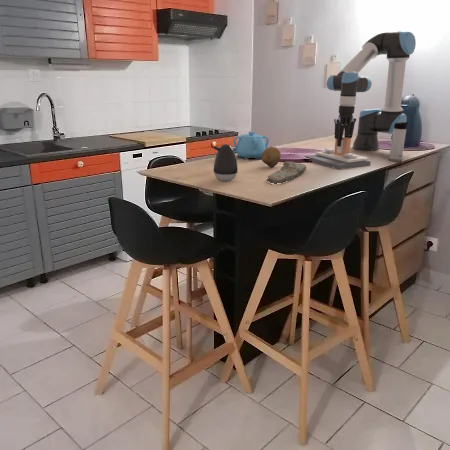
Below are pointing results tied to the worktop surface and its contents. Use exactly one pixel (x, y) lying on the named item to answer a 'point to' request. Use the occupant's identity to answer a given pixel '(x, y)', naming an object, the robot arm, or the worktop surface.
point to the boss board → (334, 162)
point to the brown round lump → (271, 156)
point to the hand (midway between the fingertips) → (341, 152)
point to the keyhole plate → (342, 158)
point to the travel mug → (398, 141)
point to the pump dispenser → (225, 163)
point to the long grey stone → (287, 172)
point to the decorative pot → (250, 145)
